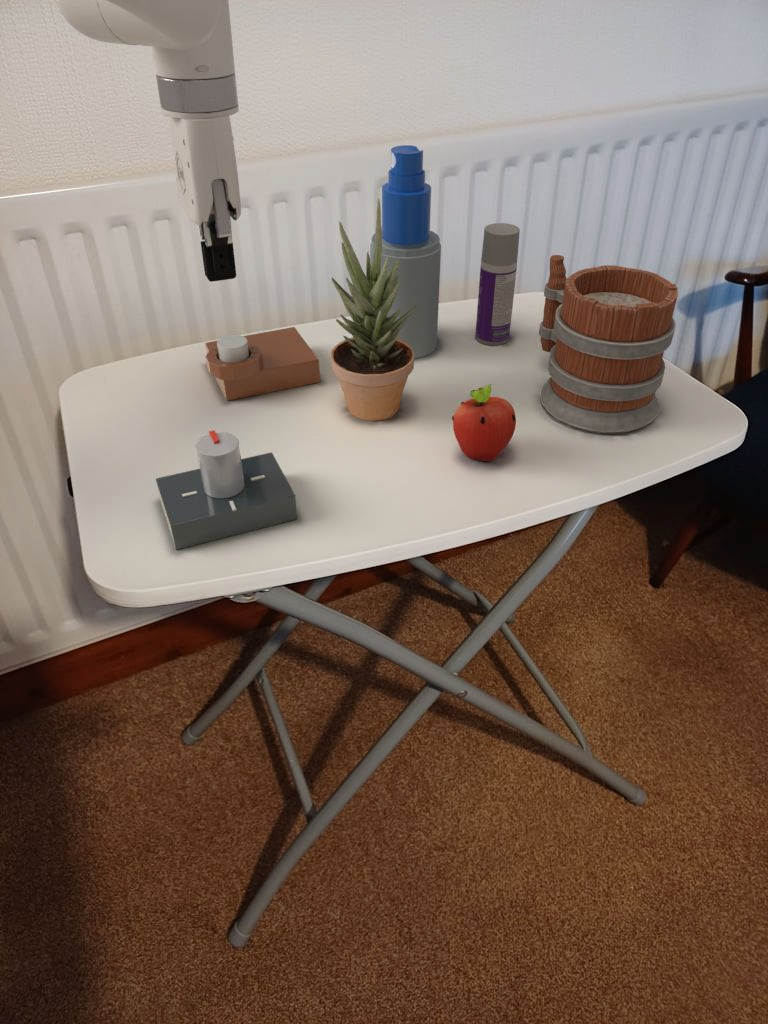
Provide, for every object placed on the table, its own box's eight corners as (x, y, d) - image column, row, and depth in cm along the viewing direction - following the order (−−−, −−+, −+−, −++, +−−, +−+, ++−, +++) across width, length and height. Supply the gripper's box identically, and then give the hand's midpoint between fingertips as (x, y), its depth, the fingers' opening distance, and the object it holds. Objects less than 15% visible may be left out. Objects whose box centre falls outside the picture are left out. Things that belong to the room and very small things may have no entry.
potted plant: (339, 433, 90) (330, 214, 74) (328, 392, 97) (317, 185, 81) (424, 424, 91) (432, 207, 76) (407, 384, 98) (411, 179, 83)
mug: (587, 447, 87) (612, 322, 78) (493, 372, 101) (504, 258, 91) (683, 418, 92) (717, 296, 83) (581, 350, 106) (600, 239, 96)
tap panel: (176, 551, 74) (170, 525, 72) (160, 501, 80) (154, 476, 78) (297, 519, 78) (295, 494, 76) (274, 474, 83) (271, 450, 81)
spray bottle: (382, 363, 103) (381, 161, 87) (363, 334, 109) (359, 141, 94) (446, 354, 105) (456, 154, 89) (423, 326, 111) (429, 136, 96)
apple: (443, 441, 88) (447, 361, 82) (501, 434, 89) (509, 355, 83) (461, 480, 83) (467, 398, 76) (523, 473, 84) (534, 391, 77)
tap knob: (249, 492, 76) (243, 446, 73) (209, 502, 75) (201, 457, 71) (238, 470, 79) (231, 425, 76) (198, 480, 78) (190, 435, 74)
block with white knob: (219, 408, 94) (213, 371, 91) (198, 366, 102) (193, 331, 99) (323, 386, 98) (321, 350, 95) (296, 348, 106) (293, 313, 103)
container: (469, 333, 110) (477, 225, 100) (499, 328, 111) (509, 220, 101) (484, 348, 106) (494, 237, 97) (515, 342, 107) (527, 232, 98)
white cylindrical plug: (223, 366, 93) (220, 350, 91) (216, 353, 95) (213, 337, 94) (252, 360, 94) (250, 345, 92) (244, 347, 96) (243, 332, 95)
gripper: (146, 84, 81) (174, 259, 92) (174, 112, 70) (202, 307, 81) (218, 80, 83) (237, 251, 94) (256, 106, 72) (272, 297, 84)
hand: (220, 277), depth 88 cm, fingers closed
